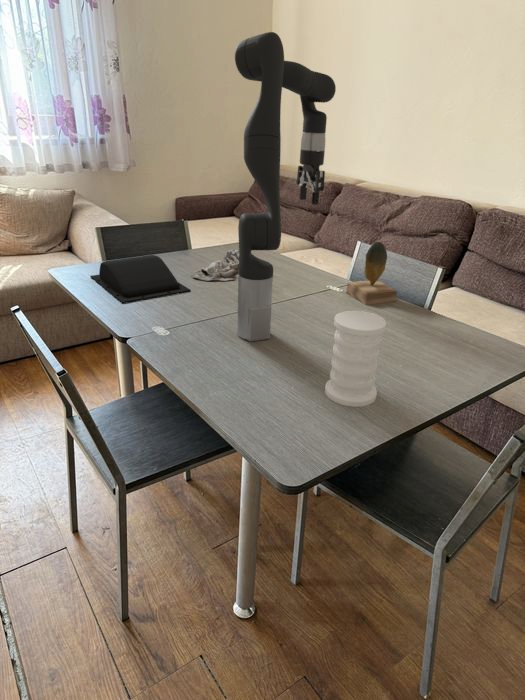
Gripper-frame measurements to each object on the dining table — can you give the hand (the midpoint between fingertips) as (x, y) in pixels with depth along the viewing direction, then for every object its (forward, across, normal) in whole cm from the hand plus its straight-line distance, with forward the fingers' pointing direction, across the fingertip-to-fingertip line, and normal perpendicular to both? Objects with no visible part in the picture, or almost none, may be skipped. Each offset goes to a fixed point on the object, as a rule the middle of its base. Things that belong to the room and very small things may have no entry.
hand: (308, 201), depth 166 cm
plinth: (+30, +13, +20) cm, 38 cm away
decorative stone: (+26, +13, +20) cm, 35 cm away
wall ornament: (+31, -26, -18) cm, 44 cm away
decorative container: (+30, +67, -21) cm, 76 cm away
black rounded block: (+31, -21, -52) cm, 64 cm away
